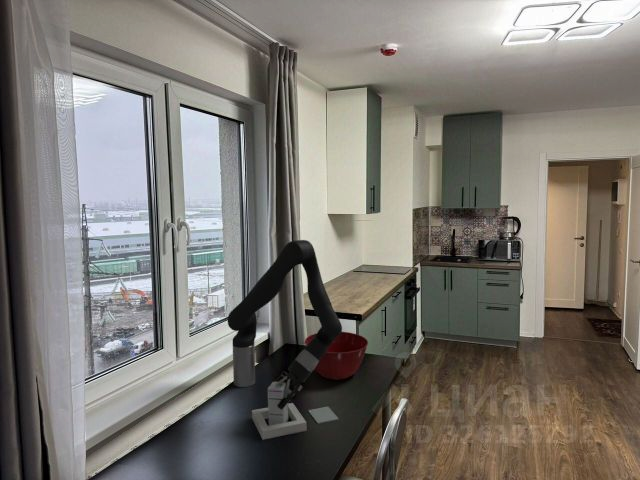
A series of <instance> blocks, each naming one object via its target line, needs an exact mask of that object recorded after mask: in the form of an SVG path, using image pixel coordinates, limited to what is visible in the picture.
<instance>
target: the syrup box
mask: <svg viewBox="0 0 640 480" xmlns="http://www.w3.org/2000/svg"><path fill="white" fill-rule="evenodd" d="M285 389H286V383H285V382H279V381H278V382H275V381H272V382H271V384H270V385H269V386H268V387H267V407H268V414H269V419H268V426H271V425H276V424H281V423H286V422H290V421H289V419H290V416H289V415H288V404H289V402H288V403H287V404H286V406H285V407H284V408H283V409H282V410H281V409H280V408H278V407H277V405H278V404H279V402H280V401H281V400H282V399H283V397H284V396H285V393H286V391H285ZM284 398H285V397H284Z"/></svg>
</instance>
